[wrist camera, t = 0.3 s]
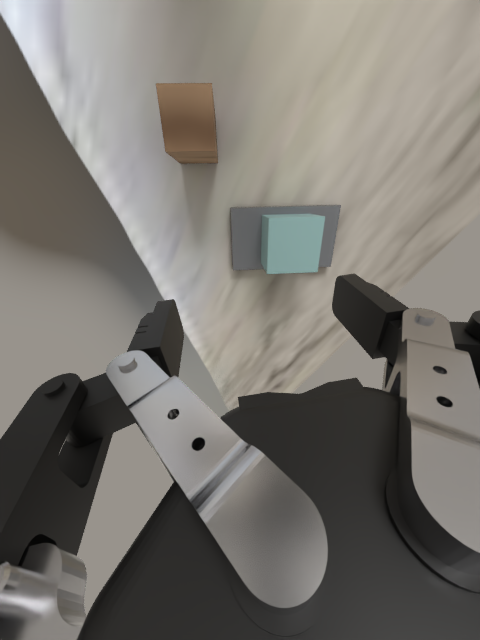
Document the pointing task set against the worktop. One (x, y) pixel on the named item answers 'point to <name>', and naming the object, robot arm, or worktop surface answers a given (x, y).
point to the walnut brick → (188, 121)
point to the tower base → (252, 233)
